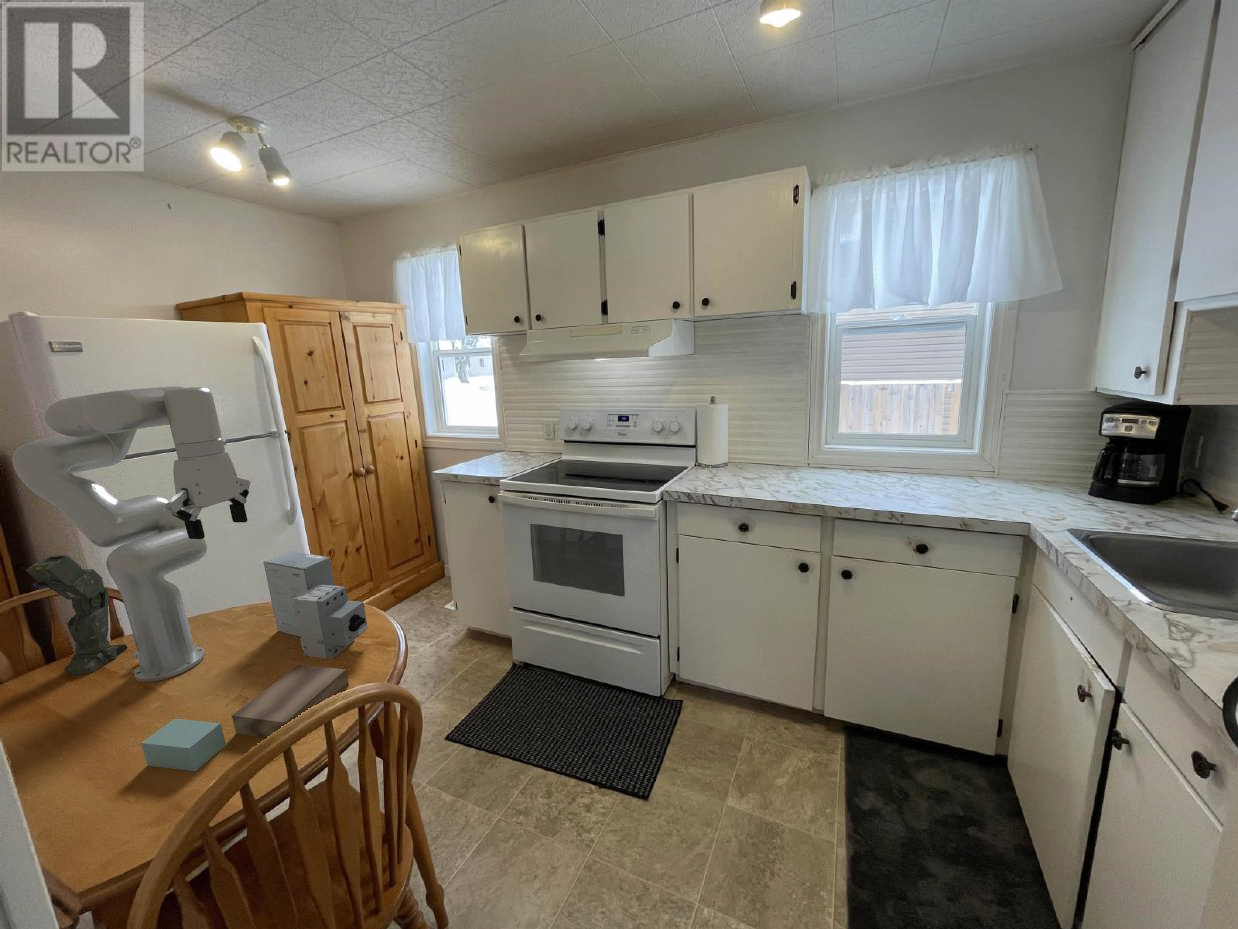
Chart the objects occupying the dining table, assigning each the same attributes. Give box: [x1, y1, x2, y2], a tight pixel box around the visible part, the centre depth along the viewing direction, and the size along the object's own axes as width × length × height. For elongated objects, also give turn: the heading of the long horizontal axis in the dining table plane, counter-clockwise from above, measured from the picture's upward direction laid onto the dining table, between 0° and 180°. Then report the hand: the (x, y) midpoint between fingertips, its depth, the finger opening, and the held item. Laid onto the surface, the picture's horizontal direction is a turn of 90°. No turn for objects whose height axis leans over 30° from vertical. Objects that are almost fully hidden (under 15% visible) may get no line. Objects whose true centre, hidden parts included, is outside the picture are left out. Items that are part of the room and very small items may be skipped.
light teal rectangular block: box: [140, 718, 227, 772], centre depth 92 cm, size 10×6×5 cm, turn 81°
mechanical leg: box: [25, 554, 129, 676], centre depth 118 cm, size 14×7×30 cm, turn 5°
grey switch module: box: [263, 551, 336, 638], centre depth 131 cm, size 16×8×20 cm, turn 68°
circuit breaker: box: [293, 585, 369, 659], centre depth 122 cm, size 8×14×15 cm, turn 78°
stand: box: [231, 664, 350, 738], centre depth 103 cm, size 12×16×4 cm
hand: (219, 529), depth 105 cm, fingers open, 9 cm apart
